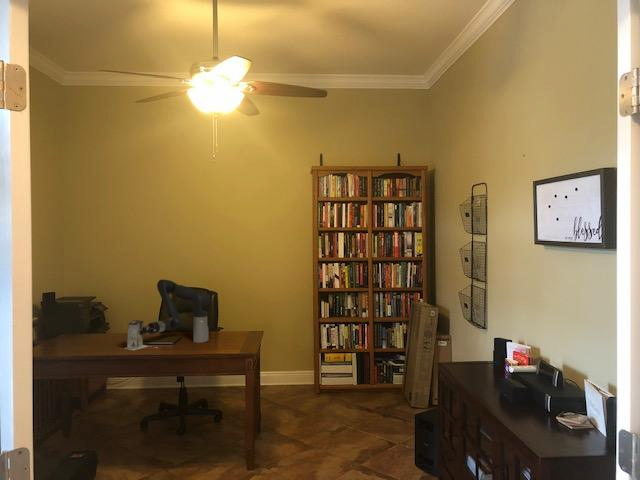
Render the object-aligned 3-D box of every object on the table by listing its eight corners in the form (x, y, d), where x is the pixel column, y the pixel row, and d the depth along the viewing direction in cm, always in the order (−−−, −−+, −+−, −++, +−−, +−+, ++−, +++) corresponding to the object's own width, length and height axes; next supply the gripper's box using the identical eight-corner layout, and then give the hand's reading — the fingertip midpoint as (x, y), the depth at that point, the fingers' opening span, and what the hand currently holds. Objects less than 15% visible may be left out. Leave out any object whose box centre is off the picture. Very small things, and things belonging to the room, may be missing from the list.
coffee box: (133, 343, 302) (134, 319, 301) (142, 344, 302) (143, 320, 301) (126, 348, 293) (127, 323, 292) (136, 349, 293) (137, 324, 292)
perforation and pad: (141, 344, 307) (141, 343, 307) (157, 347, 299) (157, 346, 299) (124, 348, 295) (124, 347, 295) (141, 352, 288) (141, 351, 288)
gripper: (149, 320, 316) (129, 324, 302) (163, 322, 309) (143, 327, 295) (149, 331, 316) (129, 336, 302) (163, 333, 309) (143, 338, 295)
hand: (136, 331), depth 298 cm, fingers open, 8 cm apart
